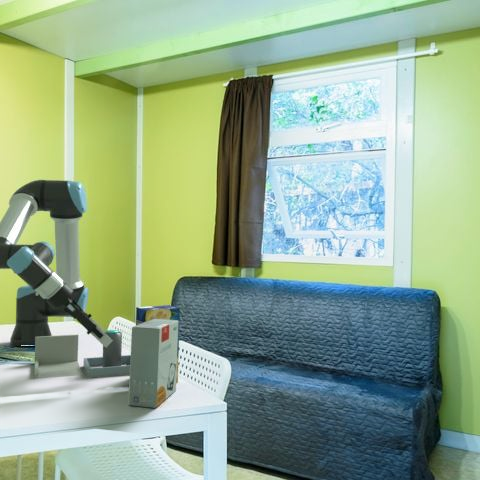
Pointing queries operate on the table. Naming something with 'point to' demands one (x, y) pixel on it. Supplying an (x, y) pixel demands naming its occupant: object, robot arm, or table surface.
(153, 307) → the beverage box
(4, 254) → the robot arm
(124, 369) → the tray
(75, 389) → the table surface
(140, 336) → the hard drive box
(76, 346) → the bay
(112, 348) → the bottle
